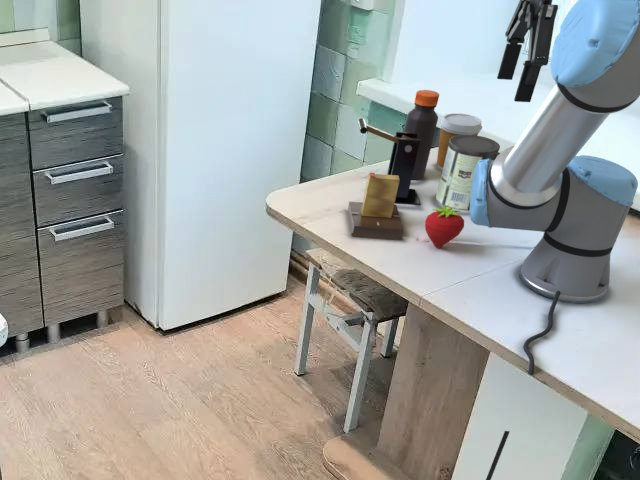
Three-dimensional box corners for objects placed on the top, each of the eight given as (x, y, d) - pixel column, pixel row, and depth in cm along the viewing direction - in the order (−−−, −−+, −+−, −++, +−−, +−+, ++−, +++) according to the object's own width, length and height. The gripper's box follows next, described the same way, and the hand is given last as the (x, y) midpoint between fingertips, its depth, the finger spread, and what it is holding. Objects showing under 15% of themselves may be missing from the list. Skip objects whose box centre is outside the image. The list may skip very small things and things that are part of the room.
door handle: (357, 134, 170) (363, 124, 168) (355, 125, 174) (360, 115, 173) (411, 156, 171) (417, 145, 170) (407, 146, 175) (413, 136, 174)
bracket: (373, 205, 178) (386, 141, 169) (369, 191, 184) (382, 127, 175) (419, 209, 177) (435, 143, 168) (413, 193, 183) (429, 130, 174)
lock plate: (401, 240, 165) (404, 228, 163) (351, 237, 165) (353, 225, 164) (394, 215, 174) (396, 203, 172) (346, 211, 175) (349, 200, 173)
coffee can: (473, 194, 183) (490, 134, 174) (488, 214, 175) (507, 152, 166) (428, 193, 183) (443, 133, 175) (441, 213, 175) (457, 151, 166)
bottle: (405, 170, 194) (424, 86, 182) (428, 179, 190) (450, 94, 178) (387, 176, 191) (406, 92, 178) (411, 186, 186) (431, 100, 174)
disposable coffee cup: (478, 170, 194) (492, 122, 187) (451, 178, 190) (465, 129, 183) (447, 157, 201) (459, 110, 193) (421, 165, 197) (432, 116, 189)
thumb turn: (389, 213, 169) (398, 174, 163) (391, 218, 167) (400, 178, 162) (360, 211, 169) (368, 172, 164) (361, 216, 168) (369, 176, 162)
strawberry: (460, 255, 160) (473, 209, 154) (421, 253, 160) (433, 207, 154) (454, 242, 164) (466, 196, 158) (416, 239, 165) (428, 194, 159)
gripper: (509, -47, 150) (478, 69, 163) (547, -20, 130) (508, 110, 143) (551, -46, 149) (516, 71, 162) (595, -18, 130) (551, 112, 143)
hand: (512, 89), depth 153 cm, fingers open, 13 cm apart
